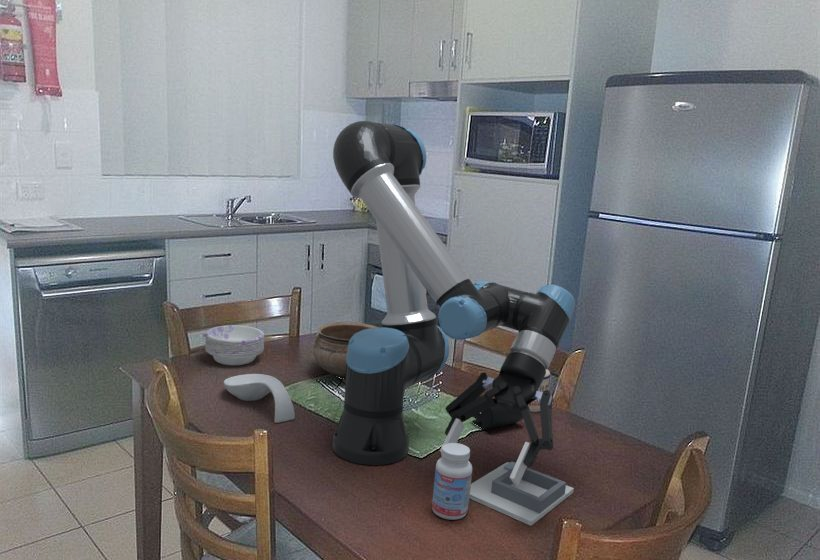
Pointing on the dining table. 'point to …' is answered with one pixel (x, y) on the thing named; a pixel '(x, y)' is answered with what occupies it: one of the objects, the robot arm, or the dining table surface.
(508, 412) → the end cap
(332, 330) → the cooking pot
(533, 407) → the teacup with lid
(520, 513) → the panel
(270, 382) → the spoon rest
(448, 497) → the pill bottle
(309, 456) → the dining table surface
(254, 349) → the paper bowls
